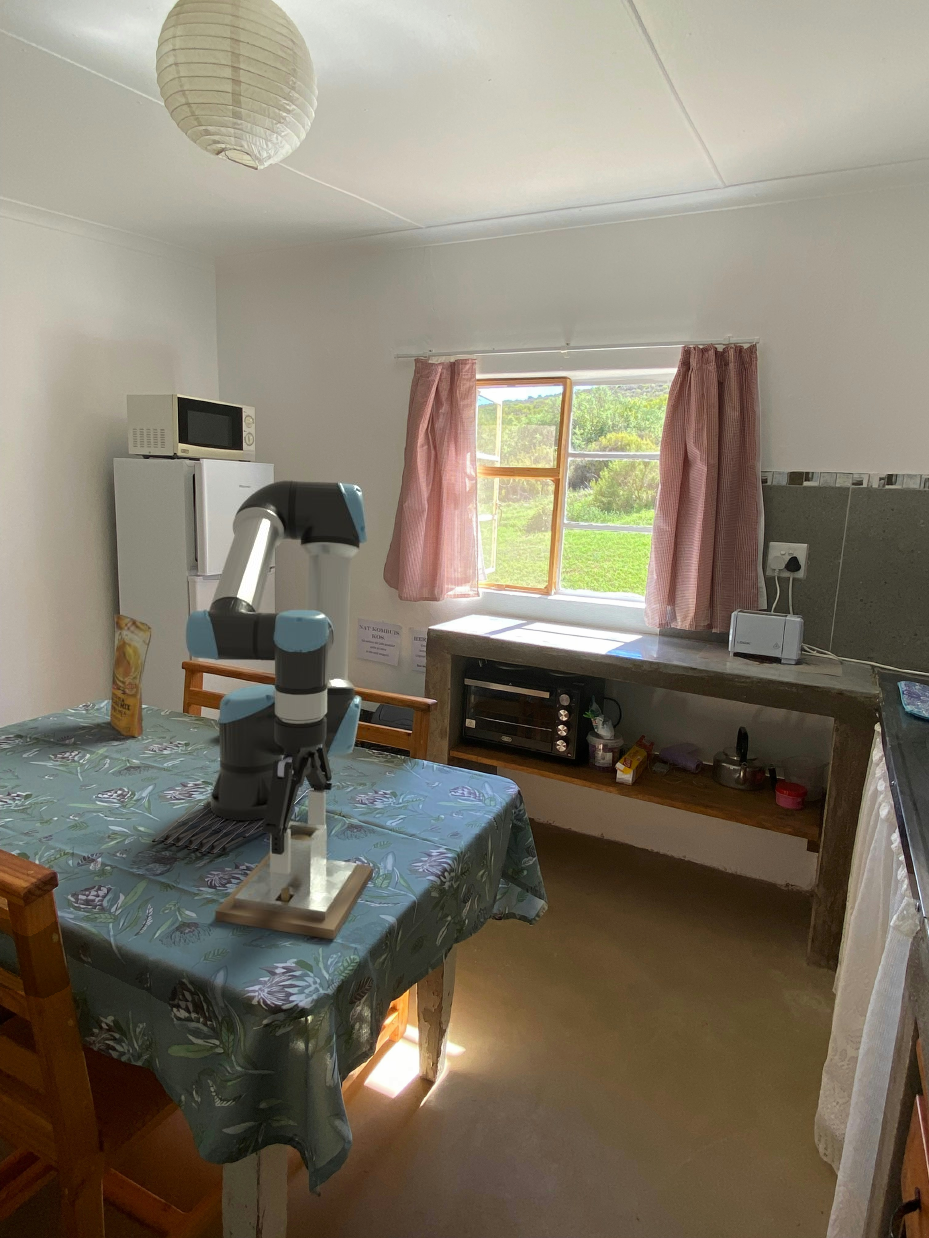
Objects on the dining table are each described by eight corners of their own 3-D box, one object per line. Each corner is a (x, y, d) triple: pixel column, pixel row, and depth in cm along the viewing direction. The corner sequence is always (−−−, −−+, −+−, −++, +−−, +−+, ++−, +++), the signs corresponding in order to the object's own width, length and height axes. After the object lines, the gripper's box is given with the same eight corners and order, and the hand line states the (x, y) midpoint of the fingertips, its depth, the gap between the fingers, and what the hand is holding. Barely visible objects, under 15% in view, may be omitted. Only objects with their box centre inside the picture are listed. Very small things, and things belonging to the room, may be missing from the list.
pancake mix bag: (130, 716, 191) (127, 611, 186) (157, 736, 178) (154, 624, 173) (103, 720, 187) (99, 613, 182) (128, 741, 173) (124, 626, 168)
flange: (275, 858, 120) (275, 807, 118) (356, 870, 117) (358, 818, 116) (234, 905, 106) (233, 848, 104) (325, 919, 104) (326, 861, 102)
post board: (215, 920, 105) (214, 859, 103) (270, 859, 122) (270, 806, 120) (333, 939, 102) (334, 877, 100) (372, 874, 119) (374, 820, 117)
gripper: (309, 691, 119) (308, 811, 123) (235, 740, 95) (237, 888, 99) (353, 695, 118) (350, 816, 122) (289, 747, 94) (288, 896, 98)
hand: (299, 849), depth 111 cm, fingers open, 13 cm apart
